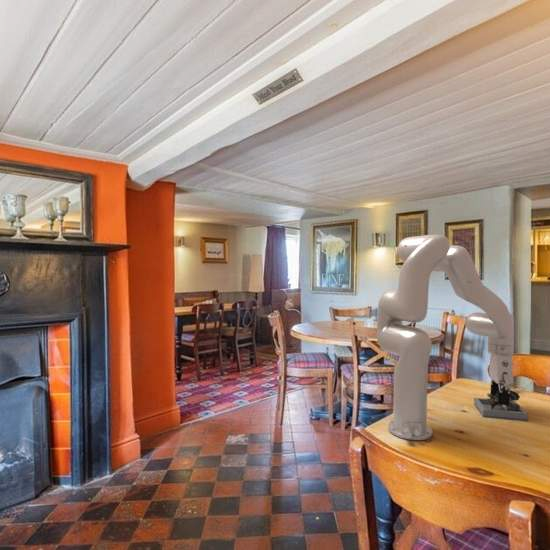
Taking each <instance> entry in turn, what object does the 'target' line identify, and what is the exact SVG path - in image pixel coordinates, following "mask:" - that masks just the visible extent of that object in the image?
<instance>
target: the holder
mask: <svg viewBox="0 0 550 550" xmlns="http://www.w3.org/2000/svg"><path fill="white" fill-rule="evenodd" d="M492 400H493V399H492ZM488 402H490V401H489V400H488V399H487V398H485V397H484V398H483V397H473V405H474V406H475V408H476V409H477V410H478V412H479V413H480V415H481V416H482V417H483V418H490V419H502V420H512V421H522V422H523V421H524V422H528V420H529V418H528V416H529V413H528V412H527V411H526V410H525V409H524V408H523V407H522V406H520V407H517V406H514V405H511V404H509V405H505V406H506V408H507V411H506V410H505V409H504V408H503V407H502V406H500V405H499V404H497V405H496V406H495V407H494V408H493V409H491V405H490V404H489V403H488ZM512 402H514V403H515V404H518V403H517V401H512ZM493 404H494V403H493Z"/></svg>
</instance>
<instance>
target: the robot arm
mask: <svg viewBox="0 0 550 550" xmlns="http://www.w3.org/2000/svg"><path fill="white" fill-rule="evenodd" d="M469 252H470V251H468V250H467V248H465V247H464V246H461V245H456V244H455V245H452V244H450V240H449V239H448V237H447V236H445V235H442V234H424V235H417V236H416V235H414V236H408V237H405V238H403V239H402V240H401V241H400V242H399V244H398V246H397V254H398V257H399V258H400V259H401V261H403V264H402V266H401V269H400V271H399V274H398V275H399V276H398V284H397V285H398V287H397V288H396V289H395V288H393V289H392V288H391V289H388V290H386V291H384V293H382V294H381V296H380V298H379V301H378V303H377V315H376V316H377V318H376V320H377V321H376V340H377V343H378V346H379V347H380V348H381V350H383V351H384V352H387V353H389V354H393V355H396V356H398V357H399V358H398V360H397V362H396V364H395V366H394V371H393V417H392V418H393V420H392V421H390V422H388V424H387V429H388V431H389V432H390V433H391V434H393V435H394V436H396V437H398V438H400V439H405V440H410V441H424V440H428V439H430V438H431V437H432V436H433V429H432V428H431V427H430V426H429V425H428V371H429V370H428V369H429V362H430V356H431V351H432V347H433V345H432V339H431V336H430V335H429V334H428V333H427V332H426V331H425V330H424V329H421V328H418V327H414V326H410V325H406V324H404V325H403V322H406V323H407V322H408V323H421V322H422V321H424V320H425V319H426V317H427V313H428V310H429V309H428V306H429V285H430V277H431V275H432V272H444V273H445V275H446V276H447V278H448V280H449V283H450V284H451V287H452V289H453V291H454V293H455V295H456V296H457V297H459V298H461V299H462V300H464V301H466V302H468V303H469V304H472V305H474V306H476V307H477V308H479V309H481V310H482V311H483V312H477V311H476V312H472V313H471V314H469V315H467V317H466V319H465V324H464V325H465V327H466V329H467V331H468V332H470V333H471V334H474V335H476V336H477V335H479V336H483V337H487V352H488V354H490V355H489V366H488V367H489V377H490V394H491V395H493V396H495V394H496V393H497V392H498V404H500V405H509V393H510V391H509V390H510V388H509V387H510V385H513V386H514V365H513V363H514V362H513V357H512V356H513V355H514V342H515V341H514V340H515V339H514V335H515V317H514V315H513V314H512V313H510V310H509V308H508V306H507V305H506V303H505V302H504V301H503V300H502V299H501V298H500V297H499V296H498V295H497V294H495V292H493V291H492V290H491V289H489V288H488V287H487V286H486V285H485V284H484V283H483V282H482V279H481V277H480V275H479V273H478V270H477V268H476V265H475V264H474V262H473V261H474V260H473V259H472V257H471V254H470V253H469ZM501 382H504V383H501ZM501 386H503V387H501Z"/></svg>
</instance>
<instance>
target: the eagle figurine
mask: <svg viewBox="0 0 550 550" xmlns="http://www.w3.org/2000/svg"><path fill="white" fill-rule="evenodd" d="M509 391H510V393H509V404H511V405H514V406H517V407H521V405H520V404H518V403H517V404H515V403H514V402H512V401H515V402H517V401H519V399H520V398H521V396H520V395H519V393H518V394H517V393H516V392H514V391H511V390H509ZM486 396H487V397H486V399H488V400H489V401H490V402H488V403H489V404H490V405H491V409H493V408H494V407H495V406H496V405H497V404H498V392H497V393H496V394H495V396H493V395H491V393H486ZM492 399H493V400H492ZM493 403H494V404H493ZM499 405H500V404H499ZM500 406H502V407H503V408H504V409H505V410H506V411H507V408H506V406H505V405H500Z"/></svg>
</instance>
